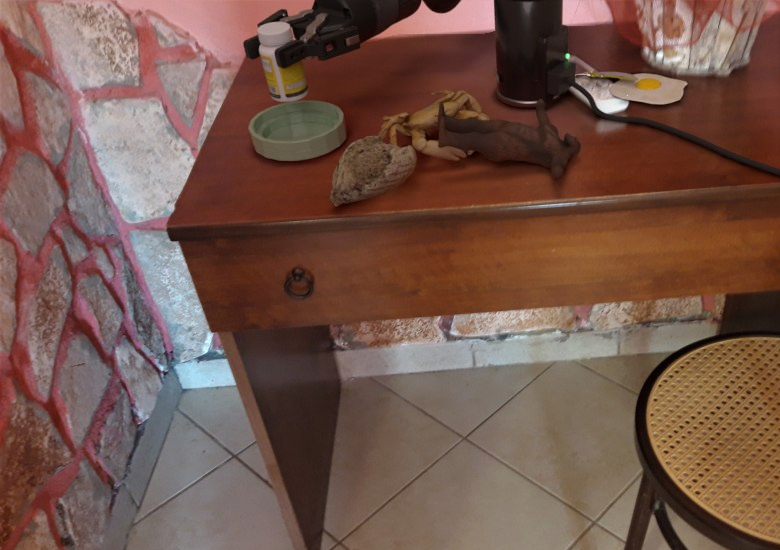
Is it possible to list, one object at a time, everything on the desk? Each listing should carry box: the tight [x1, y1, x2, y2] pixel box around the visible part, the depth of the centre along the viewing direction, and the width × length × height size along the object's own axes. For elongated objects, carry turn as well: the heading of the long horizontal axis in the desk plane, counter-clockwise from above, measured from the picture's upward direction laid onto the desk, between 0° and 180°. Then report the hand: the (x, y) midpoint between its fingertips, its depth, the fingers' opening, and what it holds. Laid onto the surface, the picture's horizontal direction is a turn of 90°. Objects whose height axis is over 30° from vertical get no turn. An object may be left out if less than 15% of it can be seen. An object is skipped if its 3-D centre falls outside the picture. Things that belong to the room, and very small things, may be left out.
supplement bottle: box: [256, 22, 309, 103], centre depth 95 cm, size 5×5×8 cm
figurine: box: [436, 99, 582, 180], centre depth 94 cm, size 18×5×18 cm
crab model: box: [376, 89, 491, 162], centre depth 99 cm, size 16×13×6 cm
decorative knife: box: [584, 69, 638, 82], centre depth 113 cm, size 12×1×5 cm
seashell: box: [329, 135, 418, 207], centre depth 90 cm, size 11×7×10 cm
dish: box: [247, 99, 348, 162], centre depth 101 cm, size 12×12×3 cm
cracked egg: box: [609, 73, 688, 105], centre depth 111 cm, size 11×11×1 cm
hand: (262, 55), depth 93 cm, fingers closed on supplement bottle, 4 cm apart
